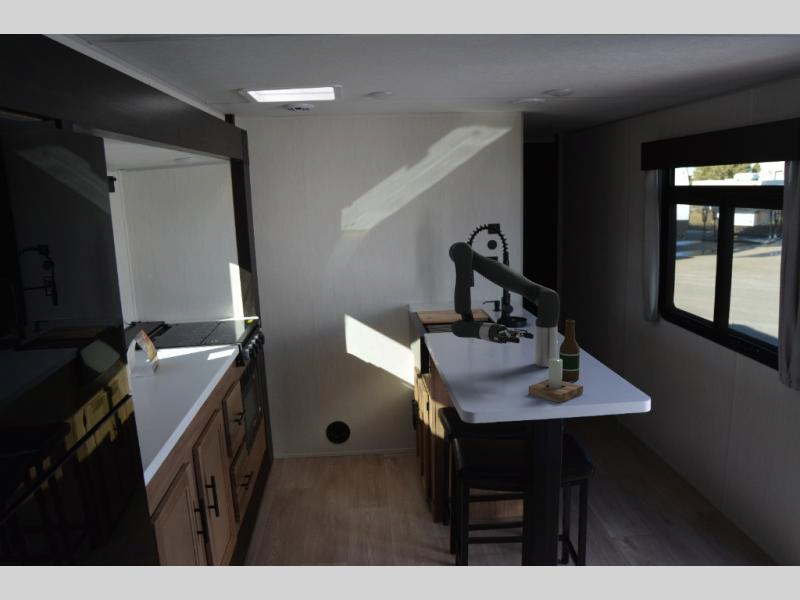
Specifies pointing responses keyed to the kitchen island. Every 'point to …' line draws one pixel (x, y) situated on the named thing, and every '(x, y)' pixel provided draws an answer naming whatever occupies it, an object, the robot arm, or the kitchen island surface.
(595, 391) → the kitchen island surface
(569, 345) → the beer bottle
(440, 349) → the kitchen island surface
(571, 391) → the walnut block
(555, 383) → the pale green cylinder
